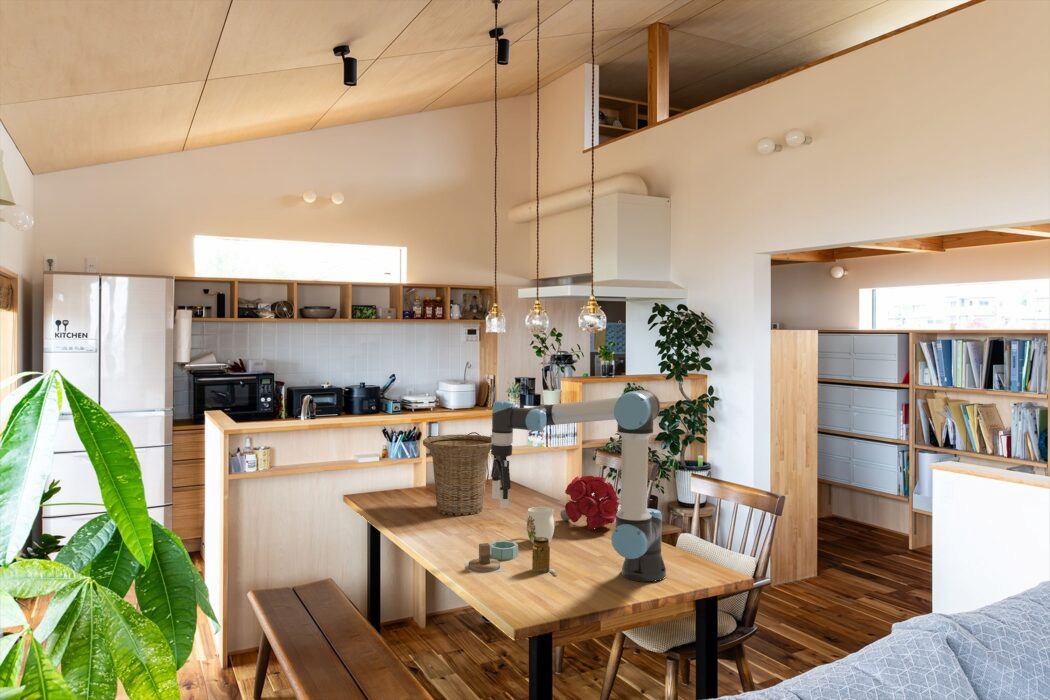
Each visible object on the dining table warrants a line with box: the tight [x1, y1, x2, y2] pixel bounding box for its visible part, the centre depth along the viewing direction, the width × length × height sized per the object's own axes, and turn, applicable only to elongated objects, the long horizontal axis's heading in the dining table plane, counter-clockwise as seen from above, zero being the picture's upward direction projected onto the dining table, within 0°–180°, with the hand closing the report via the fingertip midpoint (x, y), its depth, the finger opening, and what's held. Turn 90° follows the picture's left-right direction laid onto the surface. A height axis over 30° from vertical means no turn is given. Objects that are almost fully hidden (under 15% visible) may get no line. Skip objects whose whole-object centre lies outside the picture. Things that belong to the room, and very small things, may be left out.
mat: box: [463, 562, 506, 575], centre depth 257 cm, size 12×12×1 cm
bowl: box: [488, 540, 519, 561], centre depth 270 cm, size 10×10×5 cm
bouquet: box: [559, 475, 621, 531], centre depth 315 cm, size 22×24×30 cm
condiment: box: [531, 537, 557, 576], centre depth 253 cm, size 7×8×12 cm
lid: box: [468, 542, 501, 573], centre depth 257 cm, size 11×11×8 cm
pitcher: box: [526, 506, 555, 545], centre depth 291 cm, size 11×18×14 cm, turn 31°
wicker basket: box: [422, 434, 493, 516], centre depth 341 cm, size 35×35×33 cm
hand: (499, 503), depth 261 cm, fingers open, 13 cm apart
